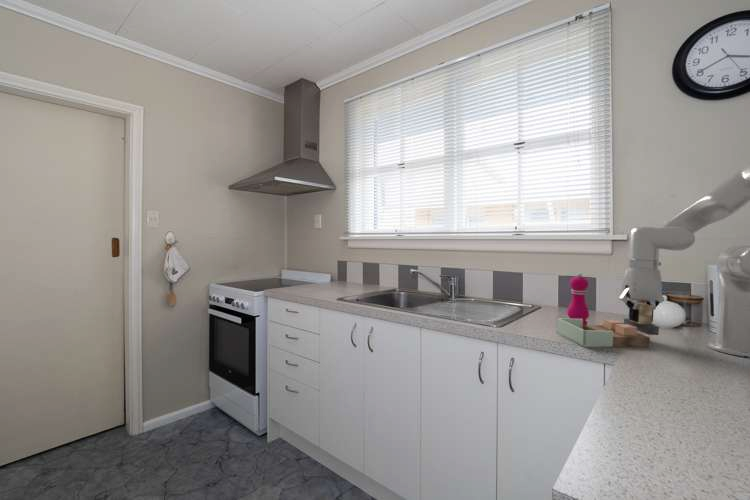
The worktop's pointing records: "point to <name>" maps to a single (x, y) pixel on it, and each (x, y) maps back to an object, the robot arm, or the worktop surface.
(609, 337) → the tray
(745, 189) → the robot arm
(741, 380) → the worktop surface
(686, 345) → the worktop surface
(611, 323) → the tile
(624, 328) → the tile
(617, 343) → the board
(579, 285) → the pepper mill
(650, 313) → the scraper
